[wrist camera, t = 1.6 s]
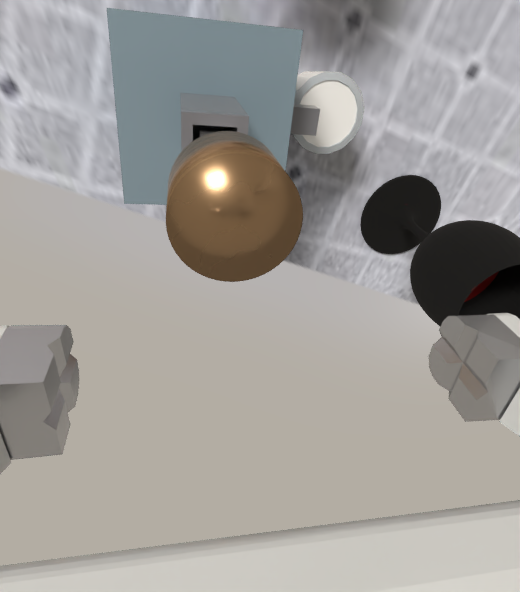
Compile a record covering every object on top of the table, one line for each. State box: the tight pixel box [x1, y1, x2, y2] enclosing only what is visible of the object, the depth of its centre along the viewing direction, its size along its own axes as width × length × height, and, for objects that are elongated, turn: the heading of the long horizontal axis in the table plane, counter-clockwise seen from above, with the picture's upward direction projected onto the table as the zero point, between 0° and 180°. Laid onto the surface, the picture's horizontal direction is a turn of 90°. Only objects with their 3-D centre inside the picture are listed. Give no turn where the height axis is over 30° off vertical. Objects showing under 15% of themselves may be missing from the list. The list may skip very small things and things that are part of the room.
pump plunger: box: [166, 130, 303, 282], centre depth 19 cm, size 5×5×11 cm
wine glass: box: [361, 175, 520, 327], centre depth 43 cm, size 10×10×20 cm
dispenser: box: [107, 8, 320, 205], centre depth 32 cm, size 15×12×21 cm
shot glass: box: [293, 72, 364, 154], centre depth 39 cm, size 7×7×7 cm
